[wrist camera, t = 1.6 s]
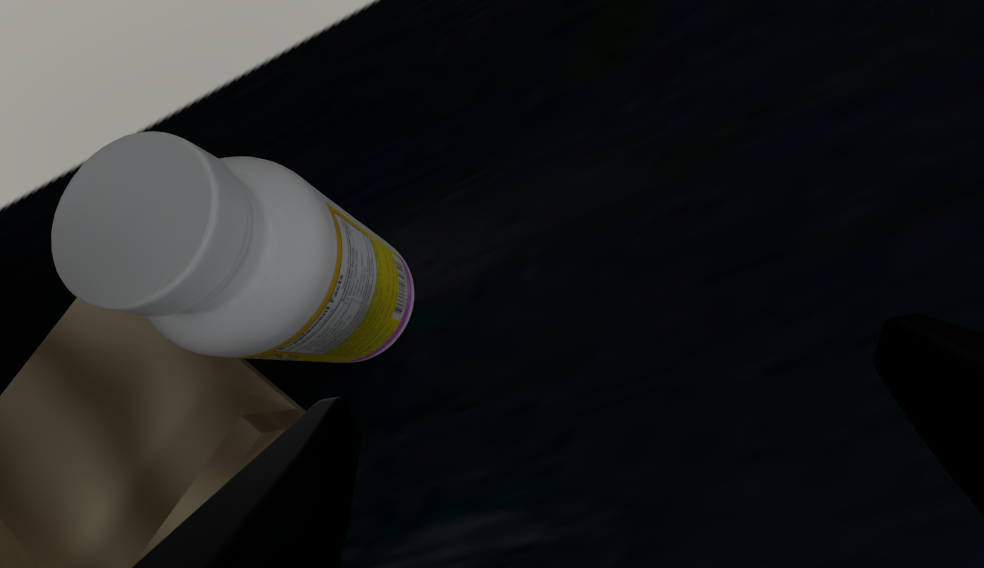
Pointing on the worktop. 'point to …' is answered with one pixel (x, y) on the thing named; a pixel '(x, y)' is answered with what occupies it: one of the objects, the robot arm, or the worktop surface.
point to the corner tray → (121, 439)
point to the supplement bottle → (227, 255)
